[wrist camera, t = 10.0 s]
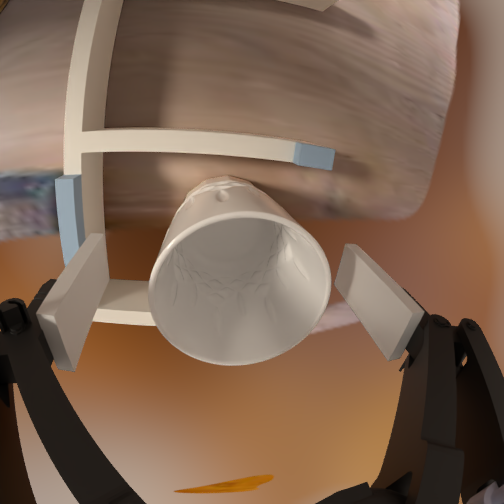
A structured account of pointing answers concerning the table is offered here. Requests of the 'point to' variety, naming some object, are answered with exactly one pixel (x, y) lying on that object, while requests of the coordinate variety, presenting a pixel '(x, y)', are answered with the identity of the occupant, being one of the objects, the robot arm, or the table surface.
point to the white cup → (237, 276)
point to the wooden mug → (3, 4)
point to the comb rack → (135, 150)
